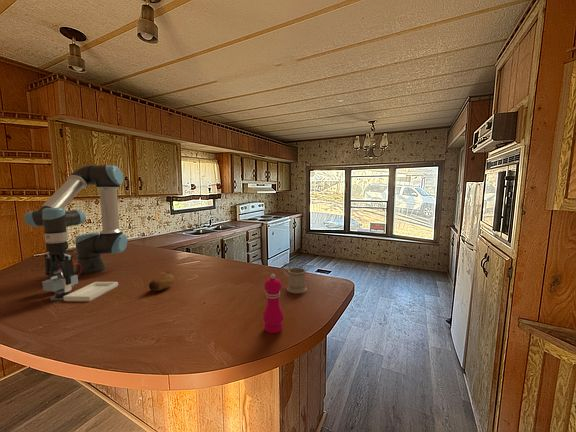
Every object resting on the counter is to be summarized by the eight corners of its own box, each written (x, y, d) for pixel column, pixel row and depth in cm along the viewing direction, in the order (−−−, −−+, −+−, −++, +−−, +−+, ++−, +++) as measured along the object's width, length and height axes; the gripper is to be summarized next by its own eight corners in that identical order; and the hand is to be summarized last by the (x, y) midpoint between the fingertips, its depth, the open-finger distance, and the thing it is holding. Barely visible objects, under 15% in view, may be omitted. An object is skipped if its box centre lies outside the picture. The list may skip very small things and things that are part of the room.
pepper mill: (263, 323, 92) (262, 271, 90) (282, 322, 92) (282, 270, 90) (263, 334, 85) (262, 277, 83) (284, 333, 85) (283, 277, 83)
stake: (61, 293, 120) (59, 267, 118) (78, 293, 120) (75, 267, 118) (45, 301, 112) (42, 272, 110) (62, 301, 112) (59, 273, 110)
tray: (95, 285, 129) (95, 281, 129) (118, 285, 129) (117, 281, 129) (63, 301, 112) (63, 296, 111) (90, 301, 111) (89, 296, 111)
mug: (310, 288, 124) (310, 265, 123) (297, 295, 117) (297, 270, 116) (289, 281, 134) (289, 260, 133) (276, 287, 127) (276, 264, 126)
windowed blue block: (54, 291, 110) (53, 282, 109) (43, 290, 111) (42, 281, 111) (81, 282, 121) (80, 274, 121) (71, 281, 122) (70, 273, 122)
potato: (156, 299, 120) (143, 290, 120) (174, 283, 132) (162, 275, 132) (161, 289, 117) (147, 280, 117) (179, 274, 129) (166, 265, 129)
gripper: (30, 242, 111) (36, 292, 114) (64, 244, 107) (69, 295, 110) (49, 239, 119) (54, 285, 121) (82, 240, 115) (86, 289, 117)
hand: (61, 290), depth 115 cm, fingers closed on windowed blue block, 6 cm apart
